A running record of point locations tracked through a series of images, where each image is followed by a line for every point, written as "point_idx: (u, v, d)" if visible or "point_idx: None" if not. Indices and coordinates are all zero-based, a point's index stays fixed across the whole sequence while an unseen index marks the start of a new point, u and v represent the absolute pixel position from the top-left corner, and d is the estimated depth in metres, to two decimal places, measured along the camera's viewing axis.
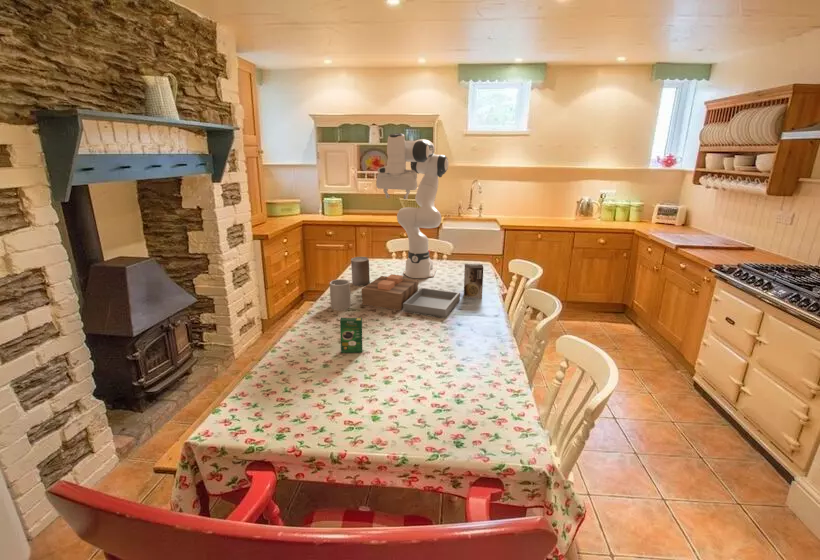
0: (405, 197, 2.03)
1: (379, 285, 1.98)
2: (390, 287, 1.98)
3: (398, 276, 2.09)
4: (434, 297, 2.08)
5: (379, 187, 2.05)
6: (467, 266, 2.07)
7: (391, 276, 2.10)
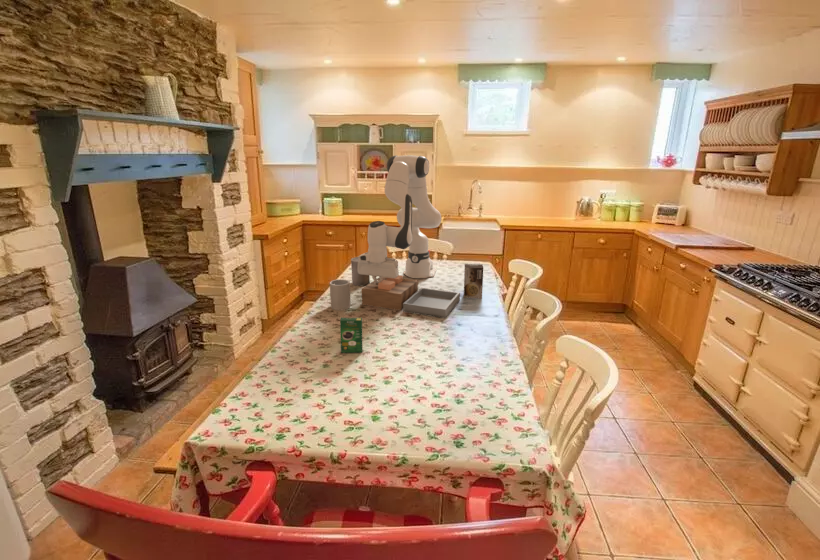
0: None
1: (379, 285, 1.98)
2: (390, 287, 1.98)
3: (398, 276, 2.09)
4: (434, 297, 2.08)
5: (360, 273, 2.02)
6: (467, 266, 2.07)
7: None
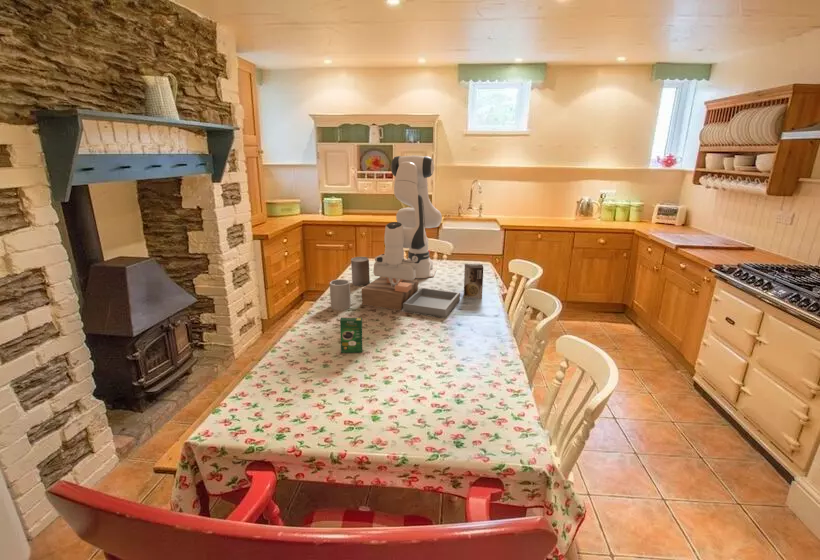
0: None
1: (396, 287, 1.95)
2: (407, 289, 1.95)
3: None
4: (434, 297, 2.08)
5: (376, 275, 1.99)
6: (467, 266, 2.07)
7: None
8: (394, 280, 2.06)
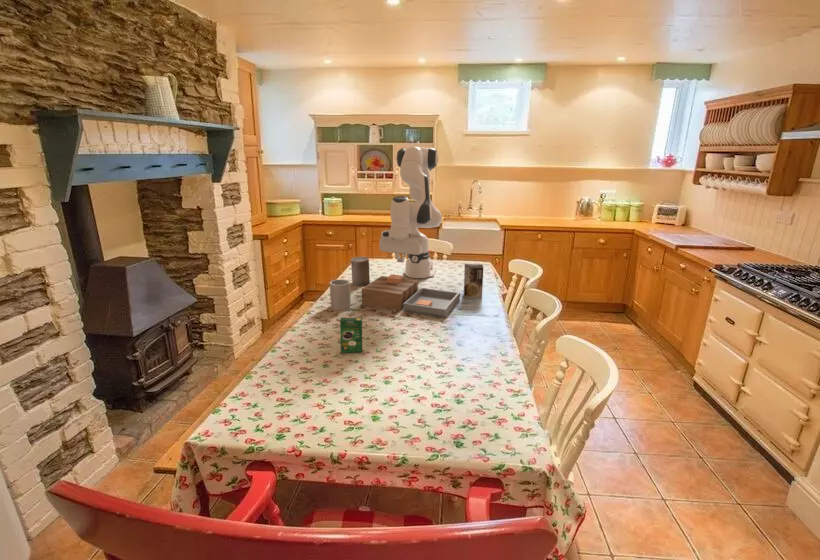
0: (401, 260, 1.97)
1: None
2: None
3: (398, 276, 2.09)
4: (434, 297, 2.08)
5: (382, 250, 1.98)
6: (467, 266, 2.07)
7: (391, 276, 2.10)
8: (394, 280, 2.06)
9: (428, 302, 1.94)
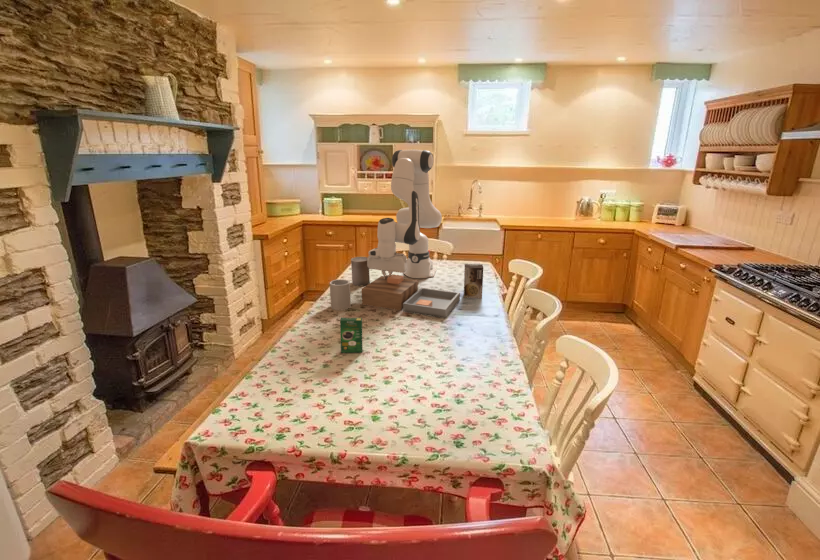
0: None
1: None
2: None
3: (399, 276, 2.09)
4: (434, 297, 2.08)
5: (370, 268, 2.11)
6: (467, 266, 2.07)
7: (391, 276, 2.09)
8: (395, 280, 2.06)
9: (428, 302, 1.94)
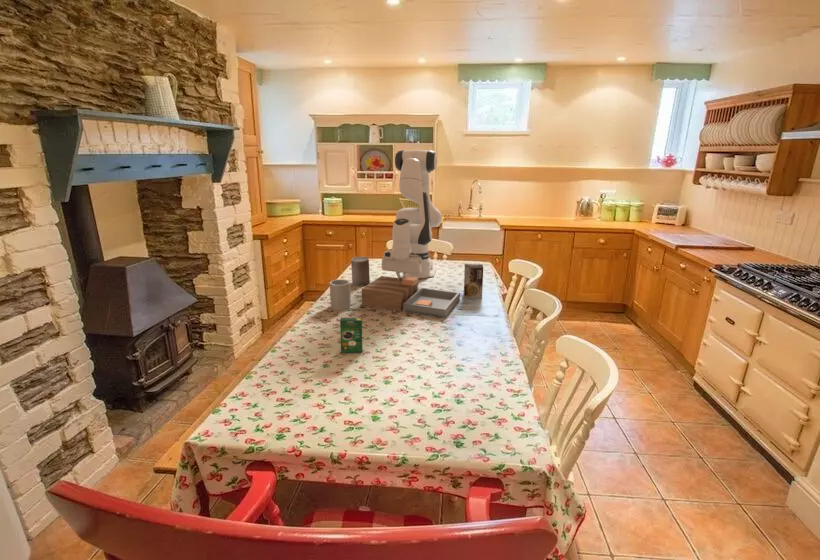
0: None
1: None
2: None
3: (414, 278, 2.06)
4: (434, 297, 2.08)
5: (384, 269, 2.08)
6: (467, 266, 2.07)
7: (406, 278, 2.07)
8: (410, 282, 2.03)
9: (428, 302, 1.94)
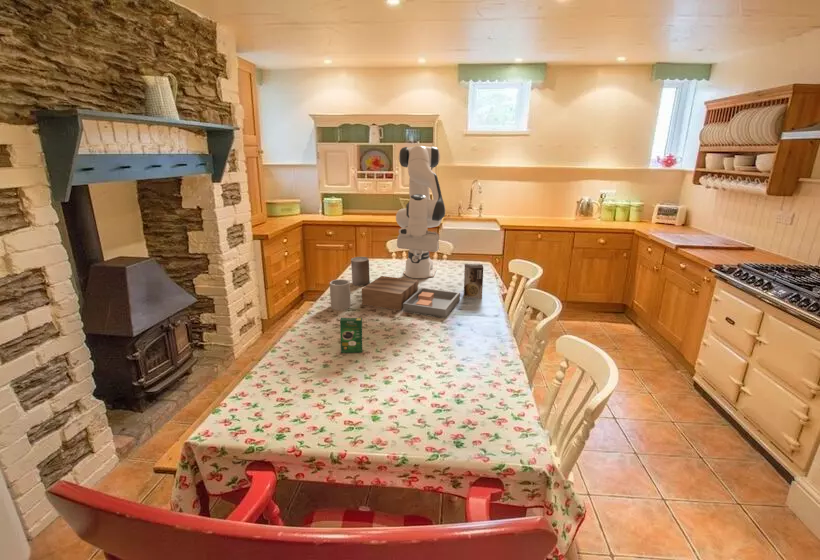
0: (418, 257, 2.00)
1: None
2: None
3: None
4: (434, 297, 2.08)
5: (400, 247, 2.01)
6: (467, 266, 2.07)
7: None
8: (421, 298, 2.03)
9: (428, 302, 1.94)
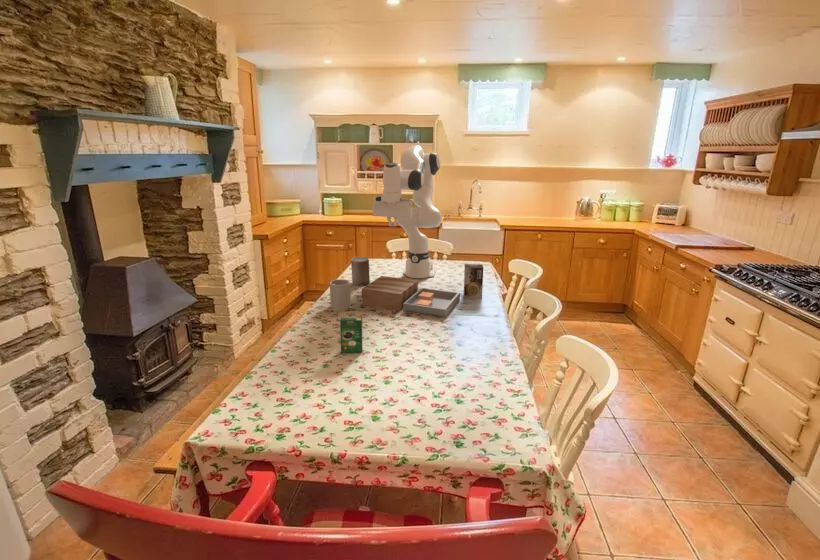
0: (393, 224, 2.08)
1: None
2: None
3: None
4: (434, 297, 2.08)
5: (375, 215, 2.09)
6: (467, 266, 2.07)
7: None
8: (421, 298, 2.03)
9: (428, 302, 1.94)
